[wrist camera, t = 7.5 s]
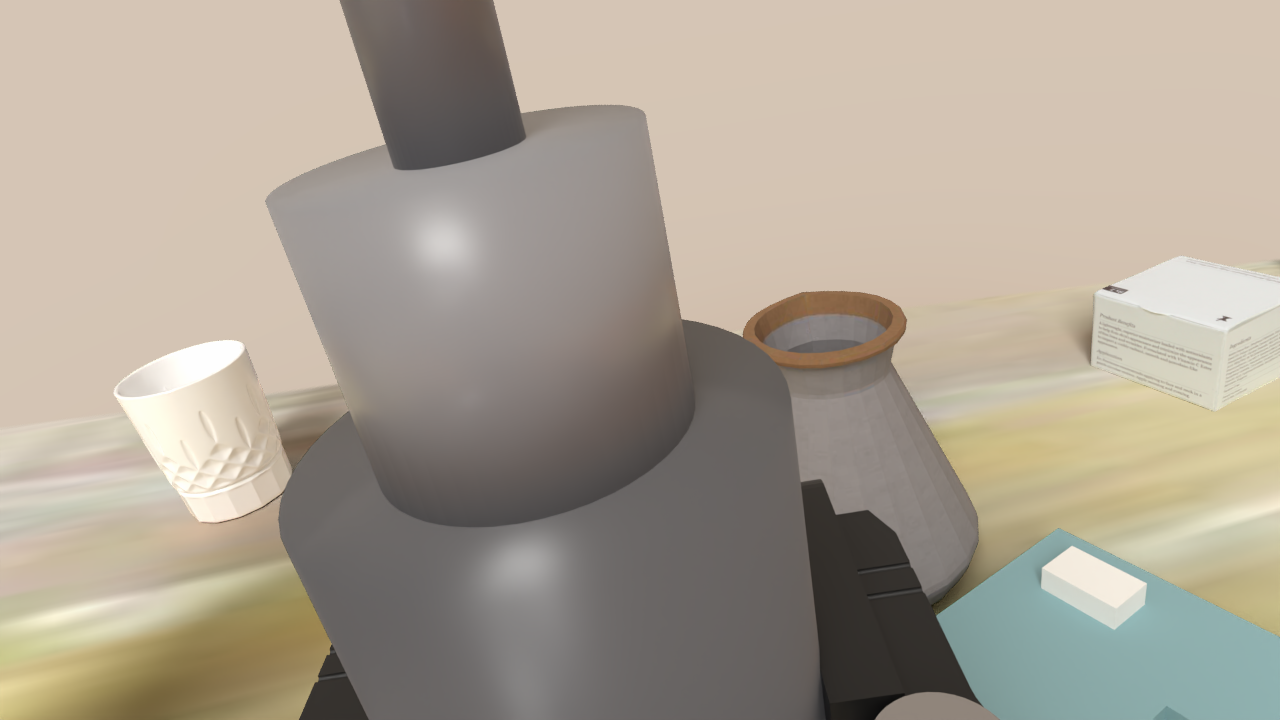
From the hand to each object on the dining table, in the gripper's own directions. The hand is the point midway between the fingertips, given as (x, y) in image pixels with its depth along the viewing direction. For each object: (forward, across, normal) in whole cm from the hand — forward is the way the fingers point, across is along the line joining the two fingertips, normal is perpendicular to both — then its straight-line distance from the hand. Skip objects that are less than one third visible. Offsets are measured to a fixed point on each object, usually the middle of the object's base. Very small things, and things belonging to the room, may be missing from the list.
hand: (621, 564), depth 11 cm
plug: (-3, 0, +10) cm, 10 cm away
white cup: (+37, +31, +20) cm, 52 cm away
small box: (+32, -30, +20) cm, 49 cm away
